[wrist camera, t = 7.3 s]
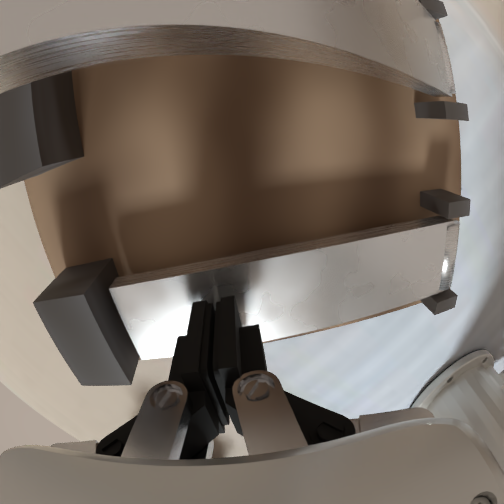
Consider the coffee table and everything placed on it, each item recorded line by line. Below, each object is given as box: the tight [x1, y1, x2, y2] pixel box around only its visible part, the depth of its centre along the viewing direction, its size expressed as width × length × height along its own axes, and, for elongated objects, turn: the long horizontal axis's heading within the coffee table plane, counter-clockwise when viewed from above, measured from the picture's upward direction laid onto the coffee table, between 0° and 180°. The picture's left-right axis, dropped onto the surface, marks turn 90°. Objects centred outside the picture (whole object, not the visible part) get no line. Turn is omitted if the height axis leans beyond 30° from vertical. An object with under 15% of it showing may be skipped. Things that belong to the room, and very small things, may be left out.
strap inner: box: [109, 215, 460, 360], centre depth 12 cm, size 17×4×1 cm, turn 99°
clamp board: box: [0, 0, 470, 386], centre depth 11 cm, size 23×18×6 cm
